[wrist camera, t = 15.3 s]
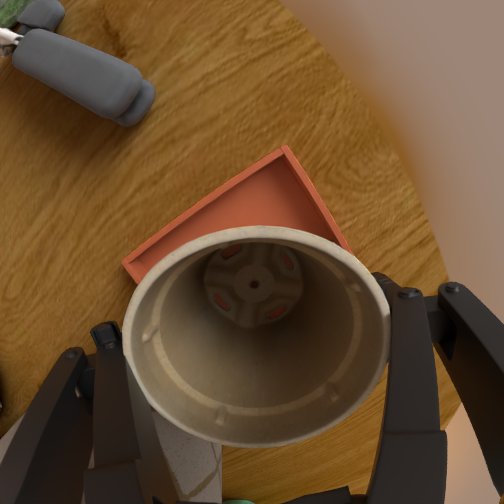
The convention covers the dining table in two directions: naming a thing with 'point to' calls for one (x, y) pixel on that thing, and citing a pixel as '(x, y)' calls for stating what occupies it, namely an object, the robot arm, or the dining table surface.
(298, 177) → the pot tray
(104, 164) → the dining table surface
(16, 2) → the stone axe
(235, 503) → the mug
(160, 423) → the planter
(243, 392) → the flower pot
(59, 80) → the can opener
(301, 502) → the robot arm
